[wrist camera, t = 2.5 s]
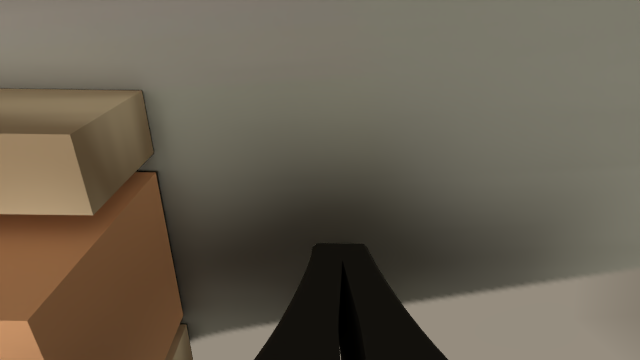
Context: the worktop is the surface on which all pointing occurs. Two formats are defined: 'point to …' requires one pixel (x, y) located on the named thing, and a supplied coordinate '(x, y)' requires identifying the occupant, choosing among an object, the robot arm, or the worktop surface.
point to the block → (90, 281)
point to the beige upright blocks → (72, 155)
